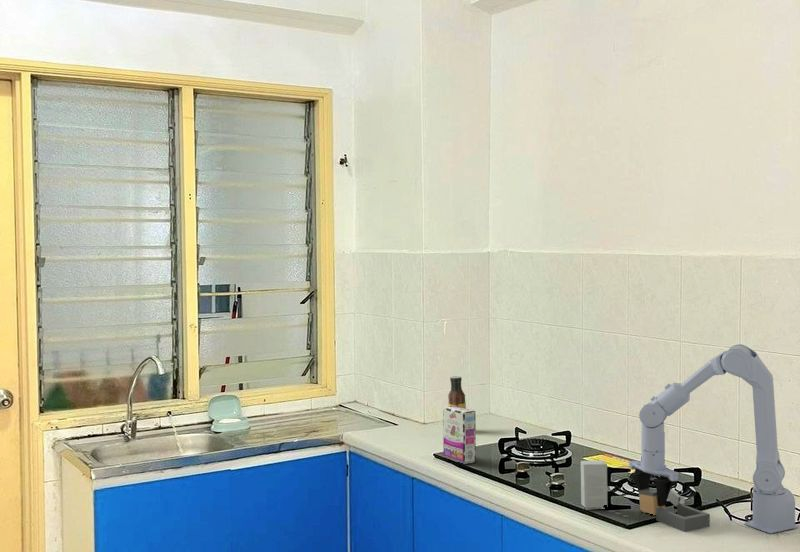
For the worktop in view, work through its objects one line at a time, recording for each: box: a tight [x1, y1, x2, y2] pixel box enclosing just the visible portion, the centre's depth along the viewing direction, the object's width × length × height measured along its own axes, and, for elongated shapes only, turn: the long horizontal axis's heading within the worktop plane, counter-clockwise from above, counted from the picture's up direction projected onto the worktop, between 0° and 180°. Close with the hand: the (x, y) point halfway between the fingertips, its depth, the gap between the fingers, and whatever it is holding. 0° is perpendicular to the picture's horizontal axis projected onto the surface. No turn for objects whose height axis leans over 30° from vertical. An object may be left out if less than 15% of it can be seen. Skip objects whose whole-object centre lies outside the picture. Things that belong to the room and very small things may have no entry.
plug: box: [638, 487, 666, 516], centre depth 227 cm, size 4×4×6 cm
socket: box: [655, 504, 711, 533], centre depth 220 cm, size 10×12×3 cm
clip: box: [667, 488, 685, 508], centre depth 232 cm, size 14×2×4 cm, turn 4°
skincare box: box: [580, 459, 608, 508], centre depth 232 cm, size 6×4×12 cm
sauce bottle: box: [447, 375, 467, 409], centre depth 323 cm, size 7×6×20 cm
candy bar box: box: [442, 406, 477, 462], centre depth 282 cm, size 11×5×16 cm, turn 33°
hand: (653, 502), depth 228 cm, fingers open, 5 cm apart
